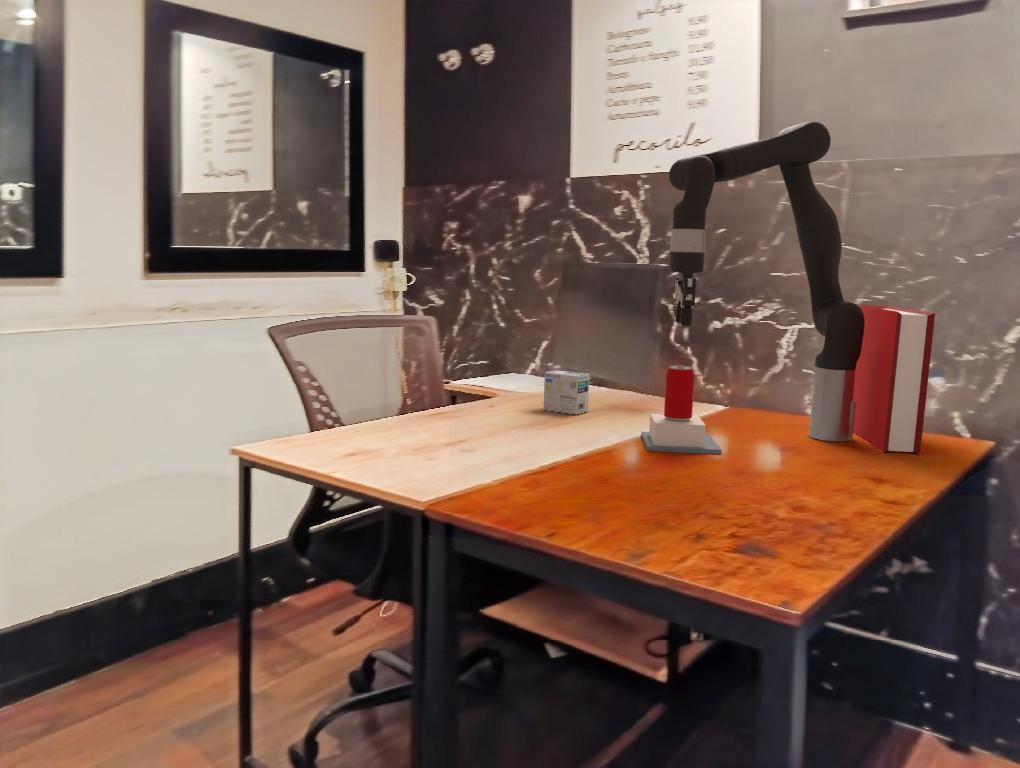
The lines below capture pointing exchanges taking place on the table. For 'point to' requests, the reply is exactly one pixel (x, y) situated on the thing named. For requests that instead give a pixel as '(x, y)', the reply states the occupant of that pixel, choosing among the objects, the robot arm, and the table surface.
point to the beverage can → (679, 393)
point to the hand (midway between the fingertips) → (682, 324)
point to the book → (893, 377)
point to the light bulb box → (566, 392)
